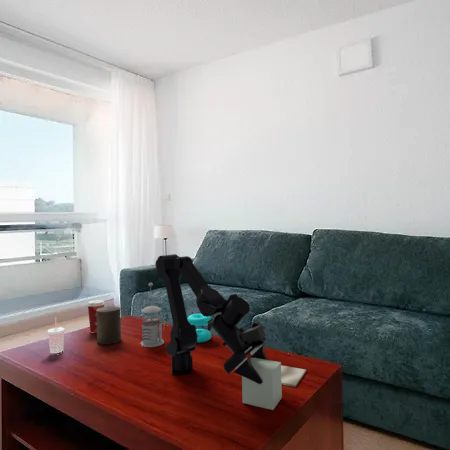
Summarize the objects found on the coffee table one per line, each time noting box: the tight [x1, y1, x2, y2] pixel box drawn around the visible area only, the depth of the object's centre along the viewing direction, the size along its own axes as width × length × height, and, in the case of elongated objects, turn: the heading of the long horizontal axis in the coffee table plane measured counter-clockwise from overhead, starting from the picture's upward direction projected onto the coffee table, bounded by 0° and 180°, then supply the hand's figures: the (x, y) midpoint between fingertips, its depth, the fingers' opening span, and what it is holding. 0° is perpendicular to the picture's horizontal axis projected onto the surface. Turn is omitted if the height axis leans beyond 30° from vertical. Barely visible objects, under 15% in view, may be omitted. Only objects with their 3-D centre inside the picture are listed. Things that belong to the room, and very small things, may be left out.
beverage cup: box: [47, 316, 66, 353], centre depth 139 cm, size 6×6×14 cm
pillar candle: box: [96, 305, 122, 345], centre depth 152 cm, size 10×10×15 cm
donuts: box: [187, 313, 212, 344], centre depth 151 cm, size 10×10×10 cm
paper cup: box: [86, 299, 106, 333], centre depth 164 cm, size 8×8×14 cm
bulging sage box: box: [241, 357, 283, 411], centre depth 99 cm, size 9×7×10 cm
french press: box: [139, 282, 166, 348], centre depth 147 cm, size 10×12×25 cm
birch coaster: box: [281, 364, 307, 388], centre depth 114 cm, size 12×12×1 cm
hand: (266, 377), depth 98 cm, fingers closed on bulging sage box, 7 cm apart
